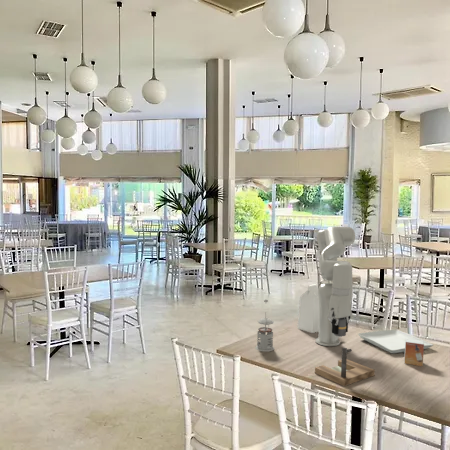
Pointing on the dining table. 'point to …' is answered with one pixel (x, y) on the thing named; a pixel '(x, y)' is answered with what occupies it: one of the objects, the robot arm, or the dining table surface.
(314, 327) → the milk
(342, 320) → the grey cylinder
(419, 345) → the small box
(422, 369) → the dining table surface
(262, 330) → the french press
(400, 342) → the square plate
